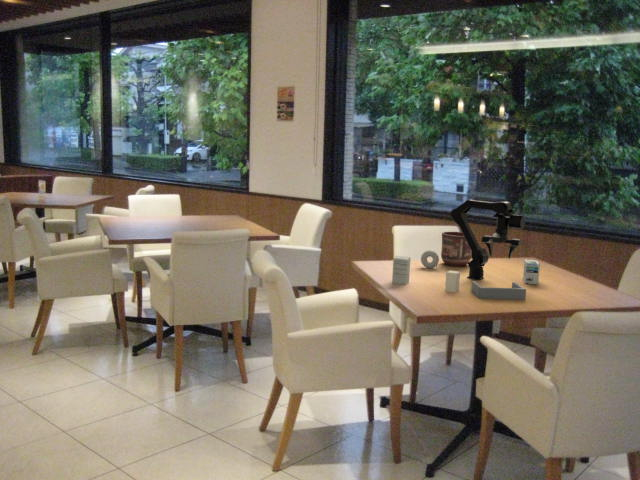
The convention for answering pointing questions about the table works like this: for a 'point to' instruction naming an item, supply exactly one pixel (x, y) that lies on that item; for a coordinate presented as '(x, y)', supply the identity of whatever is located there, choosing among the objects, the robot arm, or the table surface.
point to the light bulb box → (531, 271)
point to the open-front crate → (499, 292)
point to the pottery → (455, 249)
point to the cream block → (452, 281)
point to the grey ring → (431, 254)
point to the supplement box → (401, 270)
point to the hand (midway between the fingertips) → (500, 257)
